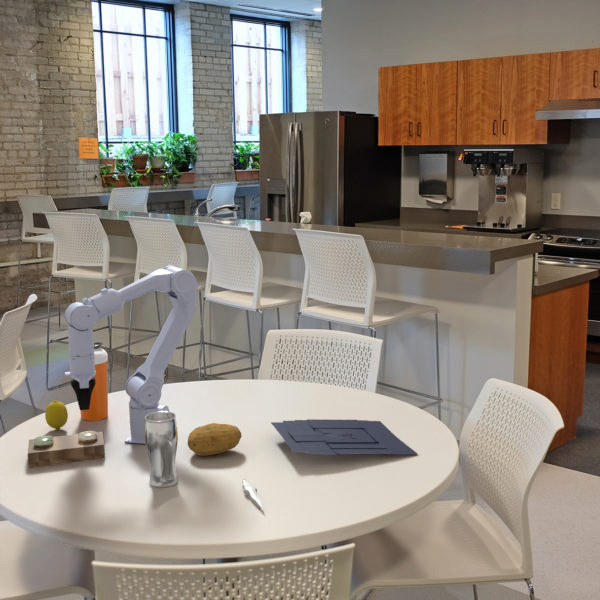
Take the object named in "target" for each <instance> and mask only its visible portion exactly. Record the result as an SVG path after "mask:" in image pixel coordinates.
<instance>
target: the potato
mask: <svg viewBox="0 0 600 600" xmlns="http://www.w3.org/2000/svg"><path fill="white" fill-rule="evenodd" d="M187 436H188V437H187V446H188V448H189V450H190V451H192V452H193V453H194V454H196V455H199V456H210V455H211V456H212V455H217V454H222V453H225V452H228V451H231V450H233V449H234V448H236V447H237V446H238V444H240V441H241V439H242V432H241V430H240V428H239V427H237V426H236V425H232V424H227V423H216V422H213V423H208V424H205V425H202V426H198V427H195V428H194V429H193V430H192V431H191V432H189V434H188V435H187Z"/></svg>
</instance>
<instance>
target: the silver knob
mask: <svg viewBox="0 0 600 600" xmlns="http://www.w3.org/2000/svg"><path fill="white" fill-rule="evenodd" d="M97 432H98V431H95V430H86V431H82V432H79V433H78V441H79V442H81V443H91V442H94V441H96V440H97V439H98V437H97Z"/></svg>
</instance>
